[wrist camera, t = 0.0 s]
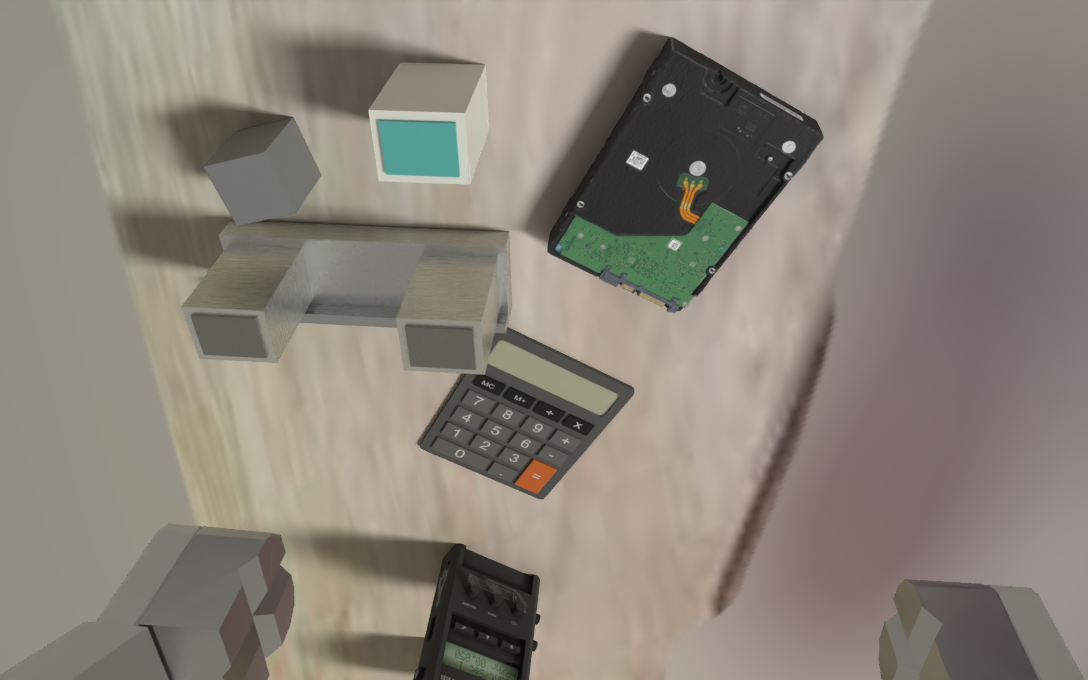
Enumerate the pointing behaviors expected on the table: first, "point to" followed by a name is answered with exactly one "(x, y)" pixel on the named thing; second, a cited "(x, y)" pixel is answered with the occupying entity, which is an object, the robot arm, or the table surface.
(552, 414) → the calculator
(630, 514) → the table surface
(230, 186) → the block
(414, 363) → the rail
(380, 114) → the block
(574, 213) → the disk drive
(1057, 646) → the robot arm
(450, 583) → the geiger counter
